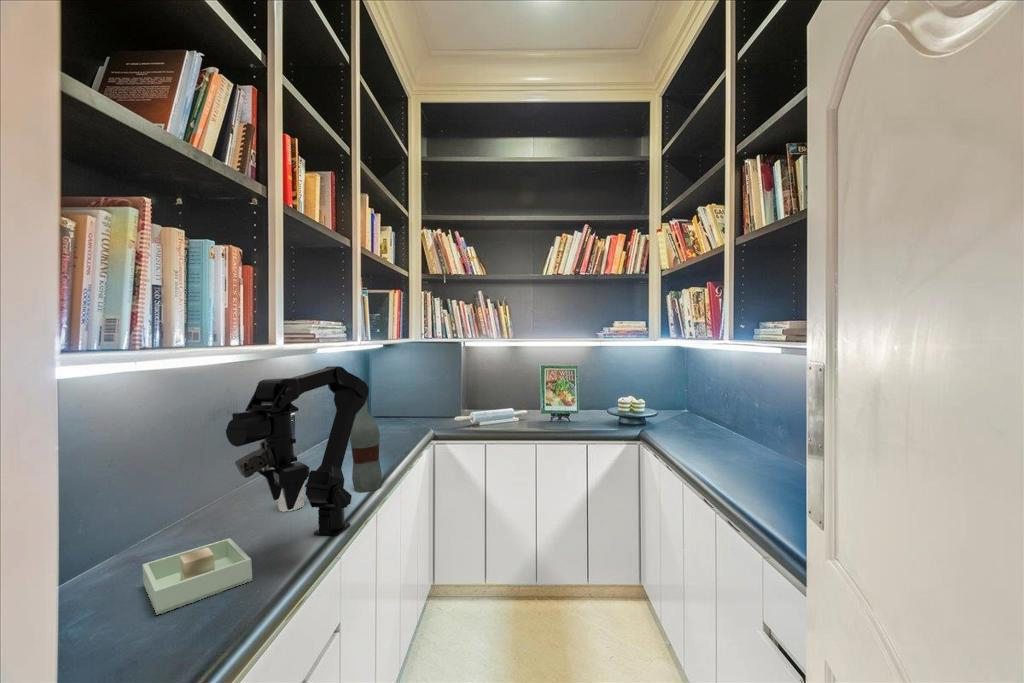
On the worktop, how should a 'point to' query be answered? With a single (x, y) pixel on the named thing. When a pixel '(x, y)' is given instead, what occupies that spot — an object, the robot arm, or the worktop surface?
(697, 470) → the worktop surface
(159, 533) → the worktop surface
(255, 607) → the worktop surface
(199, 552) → the birch block
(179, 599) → the sage bin
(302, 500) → the white cup
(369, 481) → the bottle
